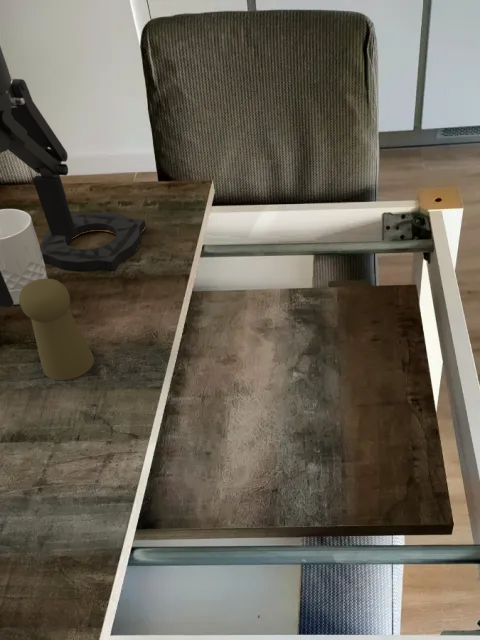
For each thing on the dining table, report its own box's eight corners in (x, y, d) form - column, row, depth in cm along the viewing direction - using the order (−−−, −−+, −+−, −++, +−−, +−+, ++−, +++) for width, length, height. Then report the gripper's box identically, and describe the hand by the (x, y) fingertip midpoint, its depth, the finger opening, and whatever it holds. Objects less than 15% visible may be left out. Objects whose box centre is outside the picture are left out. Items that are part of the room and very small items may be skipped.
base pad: (26, 265, 94) (23, 255, 93) (71, 217, 104) (69, 208, 103) (118, 275, 92) (115, 266, 91) (155, 225, 102) (153, 216, 101)
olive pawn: (34, 361, 79) (1, 284, 71) (80, 341, 82) (54, 264, 74) (55, 387, 76) (24, 309, 68) (103, 365, 79) (78, 287, 71)
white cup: (21, 314, 86) (-7, 246, 79) (-18, 296, 89) (-49, 229, 82) (66, 285, 90) (44, 218, 83) (27, 269, 93) (2, 203, 86)
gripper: (-109, 99, 45) (3, 343, 60) (62, 3, 62) (115, 212, 77) (-203, 93, 46) (-70, 334, 61) (-10, 0, 63) (57, 207, 78)
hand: (34, 267), depth 69 cm, fingers open, 13 cm apart
